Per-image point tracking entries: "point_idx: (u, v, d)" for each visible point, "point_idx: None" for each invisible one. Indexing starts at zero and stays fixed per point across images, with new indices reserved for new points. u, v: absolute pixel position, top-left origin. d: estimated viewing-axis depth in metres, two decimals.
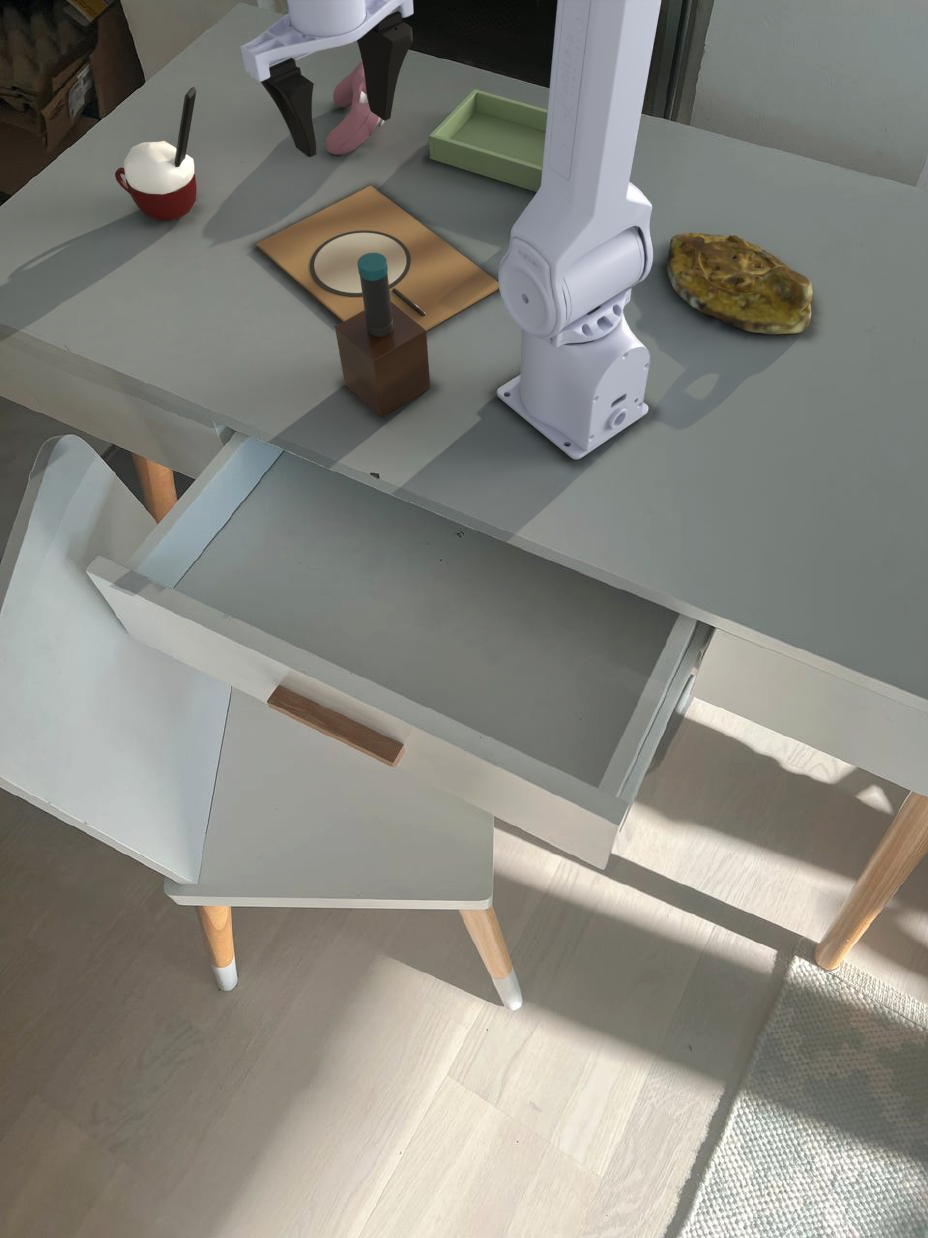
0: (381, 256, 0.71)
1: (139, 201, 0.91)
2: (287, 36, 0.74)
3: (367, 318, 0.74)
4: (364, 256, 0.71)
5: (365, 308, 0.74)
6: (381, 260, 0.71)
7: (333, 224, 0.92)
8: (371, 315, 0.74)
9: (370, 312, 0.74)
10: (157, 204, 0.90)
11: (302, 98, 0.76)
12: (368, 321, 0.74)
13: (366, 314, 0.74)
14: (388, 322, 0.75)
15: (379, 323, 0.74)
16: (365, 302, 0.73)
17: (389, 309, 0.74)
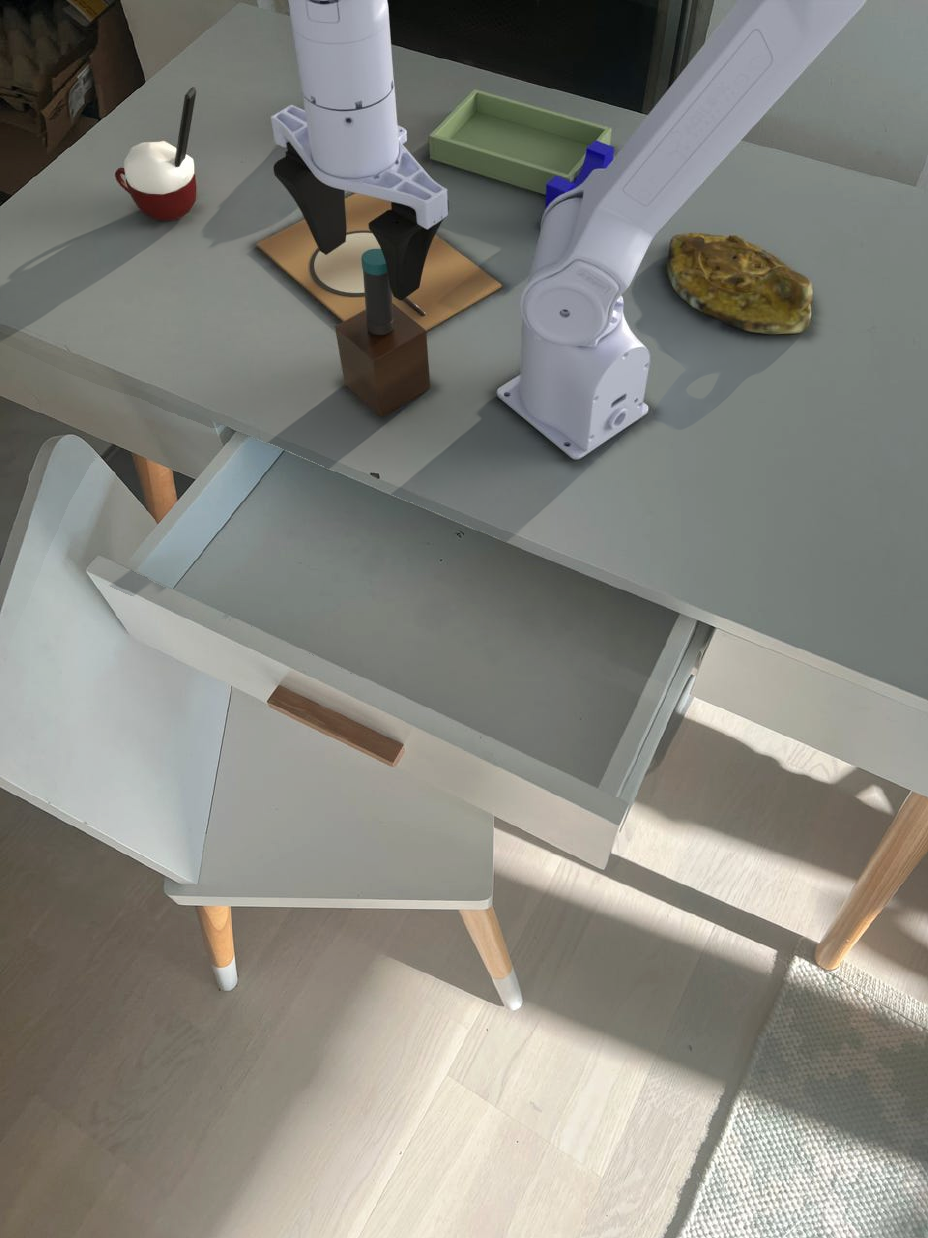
0: None
1: (139, 201, 0.91)
2: None
3: (368, 315, 0.74)
4: (368, 251, 0.71)
5: (366, 305, 0.74)
6: None
7: None
8: (372, 312, 0.74)
9: (371, 309, 0.73)
10: (157, 204, 0.90)
11: (290, 188, 0.69)
12: (369, 319, 0.74)
13: (367, 311, 0.74)
14: (389, 320, 0.75)
15: (380, 320, 0.74)
16: (367, 298, 0.73)
17: (390, 307, 0.74)
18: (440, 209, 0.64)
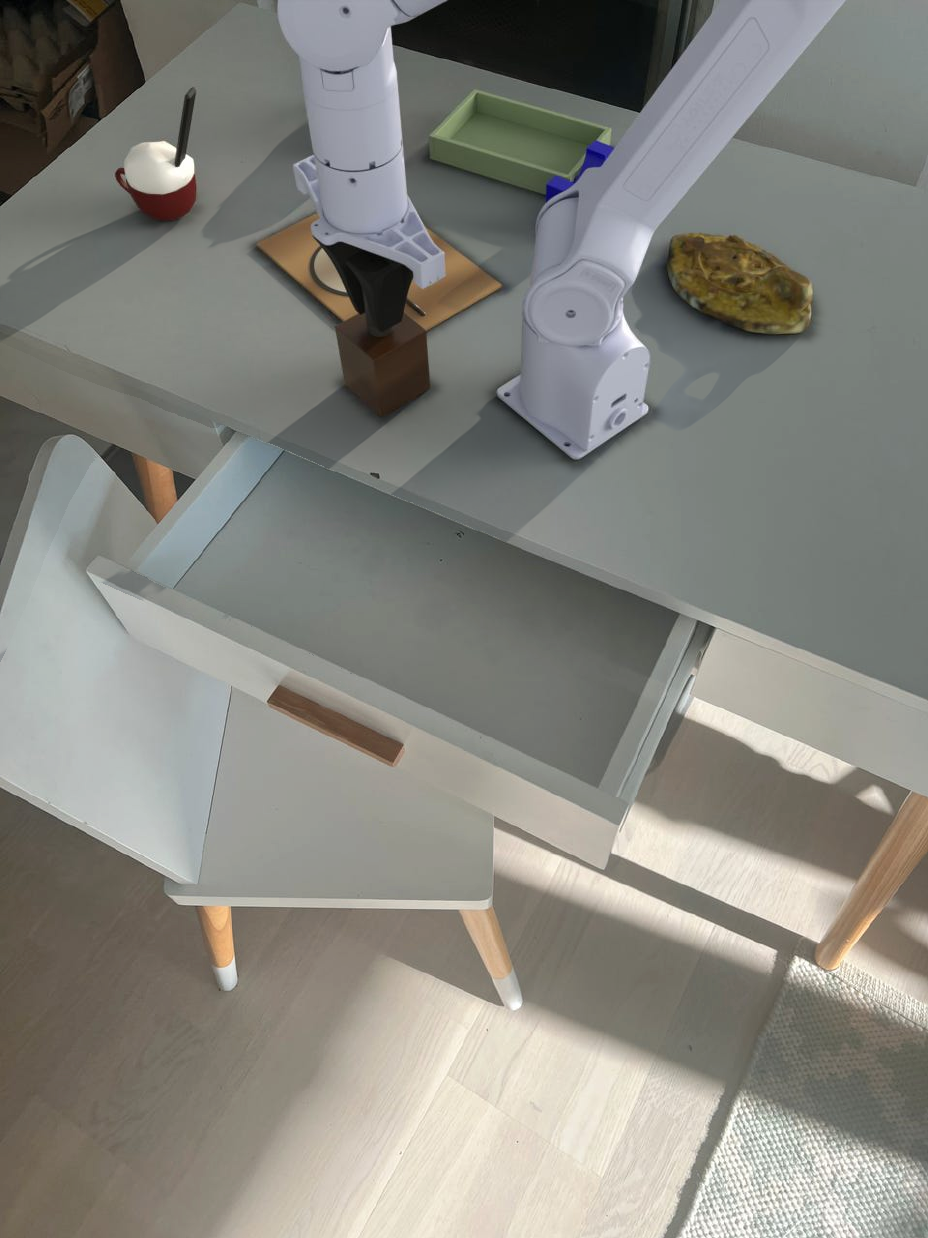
0: None
1: (139, 201, 0.91)
2: (402, 233, 0.66)
3: (367, 318, 0.74)
4: None
5: (365, 308, 0.74)
6: None
7: None
8: None
9: None
10: (157, 204, 0.90)
11: None
12: (369, 322, 0.74)
13: (366, 314, 0.74)
14: None
15: None
16: (365, 302, 0.73)
17: None
18: None
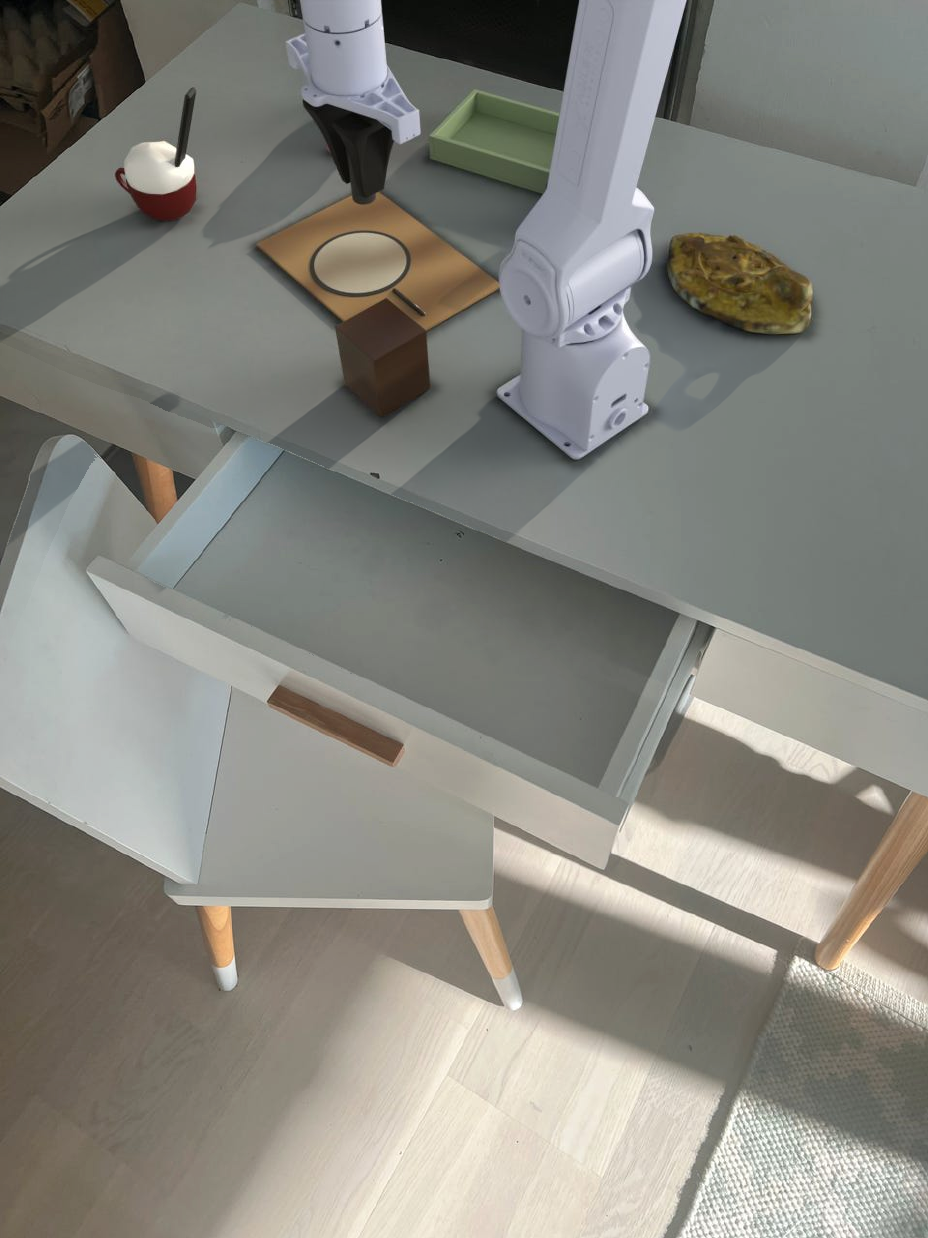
0: None
1: (139, 201, 0.91)
2: (382, 95, 0.74)
3: (352, 186, 0.83)
4: None
5: (350, 176, 0.82)
6: None
7: (333, 224, 0.92)
8: (355, 183, 0.82)
9: None
10: (157, 204, 0.90)
11: None
12: (353, 189, 0.83)
13: (351, 182, 0.82)
14: None
15: None
16: (350, 170, 0.81)
17: None
18: None
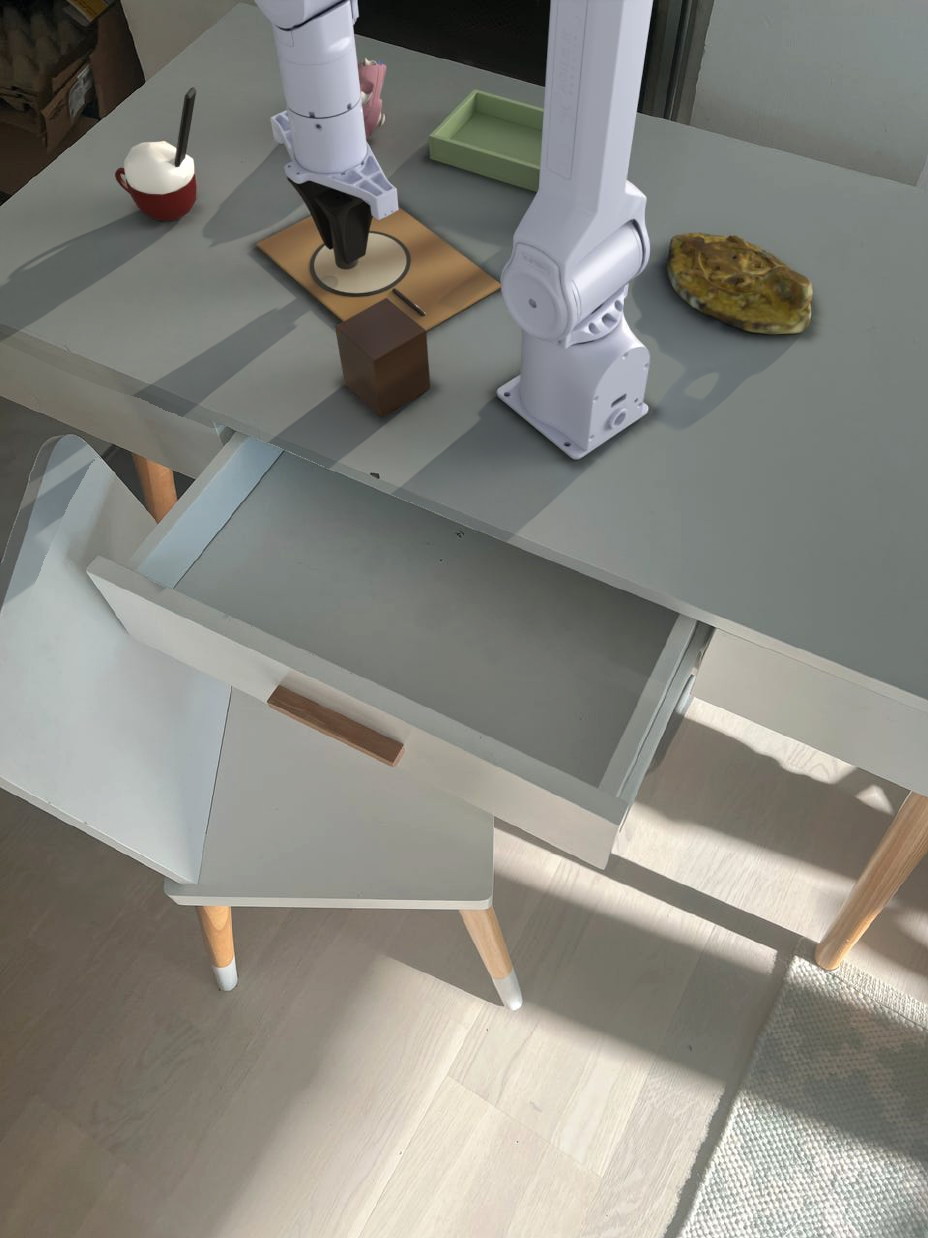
0: None
1: (139, 201, 0.91)
2: (361, 173, 0.78)
3: (335, 252, 0.86)
4: None
5: (333, 243, 0.86)
6: None
7: None
8: None
9: None
10: (157, 204, 0.90)
11: None
12: (336, 255, 0.86)
13: (334, 249, 0.86)
14: None
15: None
16: (333, 238, 0.85)
17: None
18: None
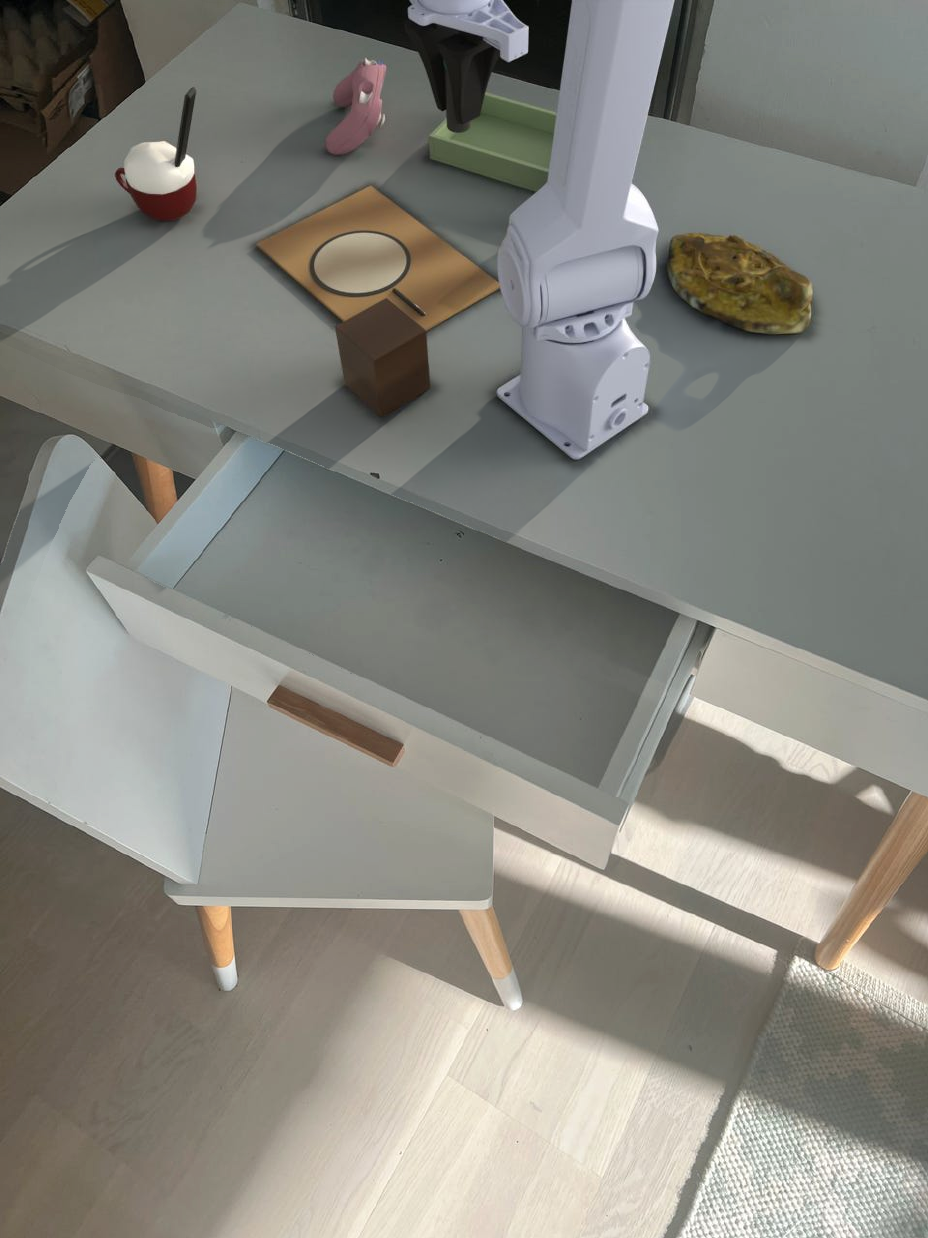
0: None
1: (139, 201, 0.91)
2: (489, 13, 0.74)
3: (448, 113, 0.83)
4: None
5: (447, 103, 0.82)
6: None
7: (333, 224, 0.92)
8: (452, 109, 0.82)
9: (452, 106, 0.82)
10: (157, 204, 0.90)
11: None
12: (449, 117, 0.83)
13: (448, 109, 0.83)
14: None
15: None
16: (448, 96, 0.82)
17: None
18: None
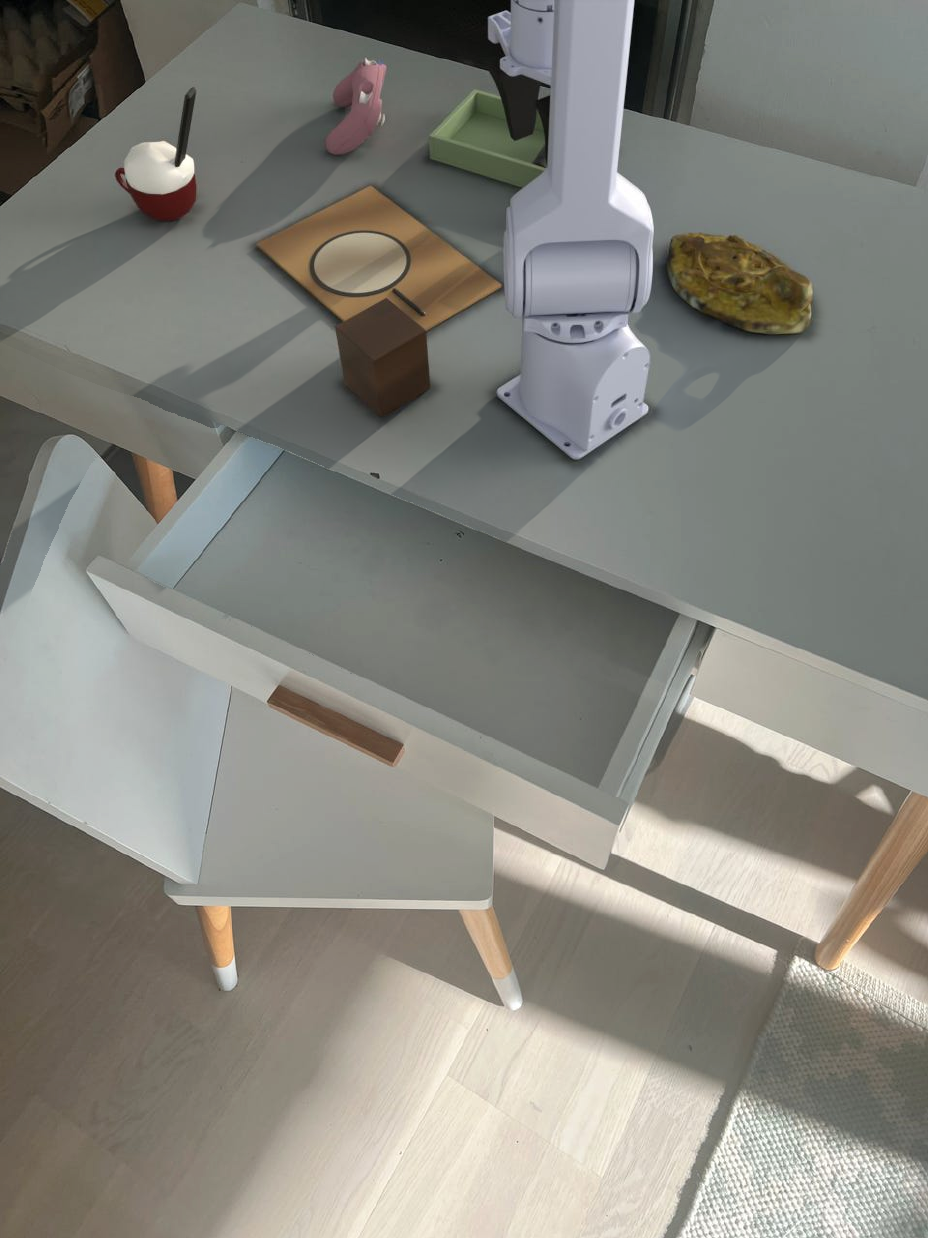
0: None
1: (139, 201, 0.91)
2: None
3: (541, 152, 0.93)
4: None
5: (544, 146, 0.94)
6: None
7: (333, 224, 0.92)
8: None
9: None
10: (157, 204, 0.90)
11: None
12: (541, 153, 0.93)
13: (542, 149, 0.93)
14: None
15: None
16: None
17: None
18: None
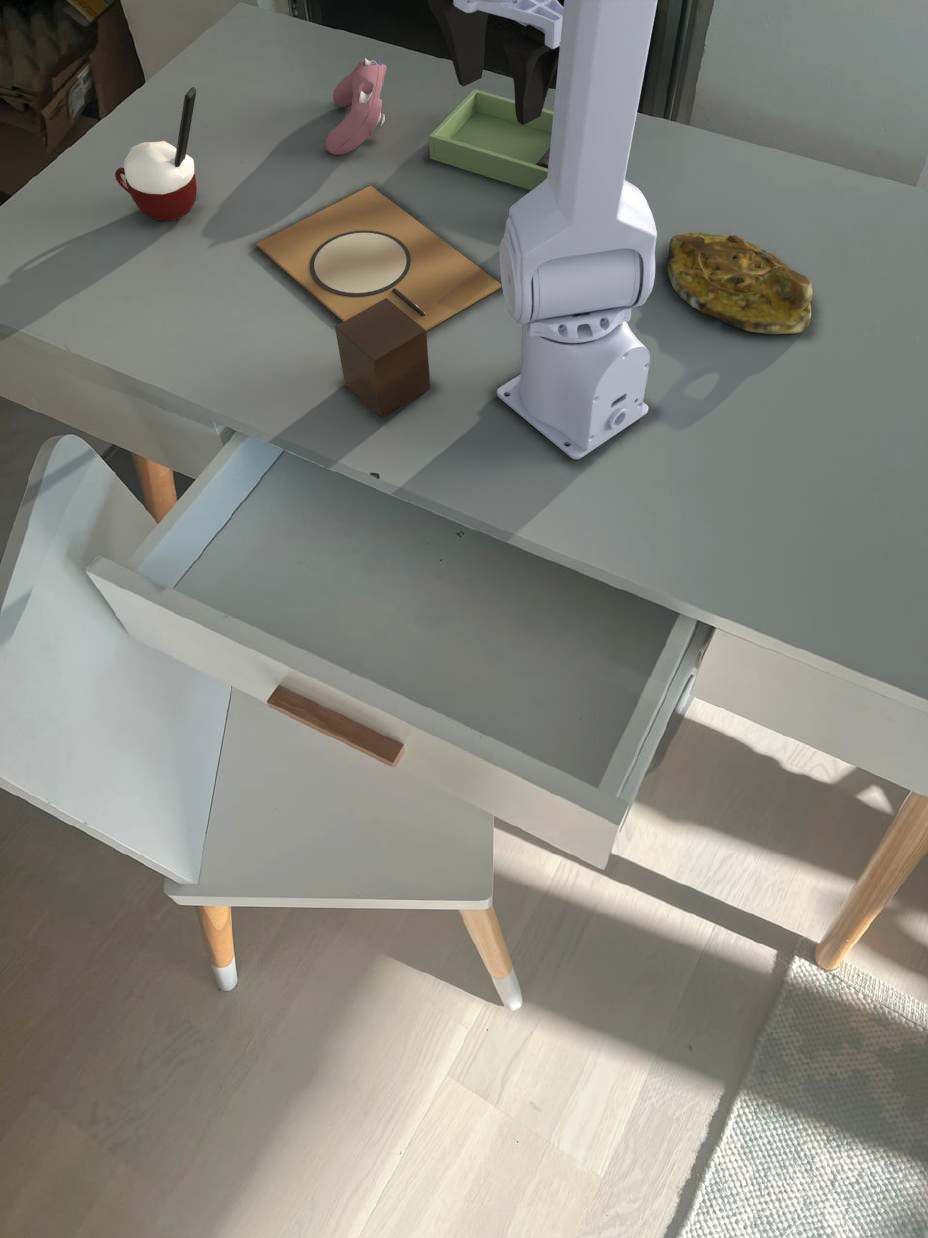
0: None
1: (139, 201, 0.91)
2: (534, 1, 0.75)
3: (547, 154, 0.93)
4: None
5: None
6: None
7: (333, 224, 0.92)
8: None
9: None
10: (157, 204, 0.90)
11: None
12: (548, 155, 0.93)
13: (549, 152, 0.94)
14: None
15: None
16: None
17: None
18: None
